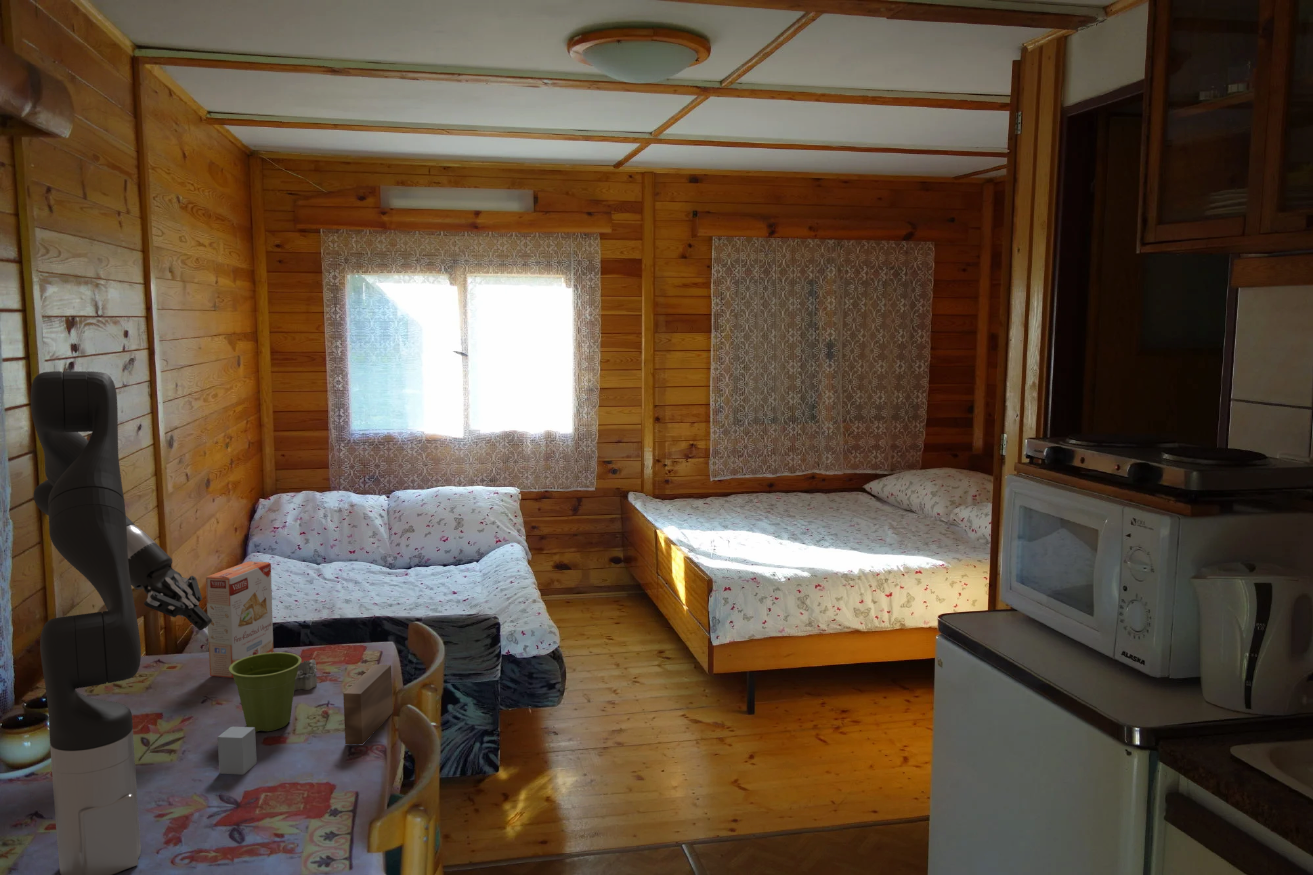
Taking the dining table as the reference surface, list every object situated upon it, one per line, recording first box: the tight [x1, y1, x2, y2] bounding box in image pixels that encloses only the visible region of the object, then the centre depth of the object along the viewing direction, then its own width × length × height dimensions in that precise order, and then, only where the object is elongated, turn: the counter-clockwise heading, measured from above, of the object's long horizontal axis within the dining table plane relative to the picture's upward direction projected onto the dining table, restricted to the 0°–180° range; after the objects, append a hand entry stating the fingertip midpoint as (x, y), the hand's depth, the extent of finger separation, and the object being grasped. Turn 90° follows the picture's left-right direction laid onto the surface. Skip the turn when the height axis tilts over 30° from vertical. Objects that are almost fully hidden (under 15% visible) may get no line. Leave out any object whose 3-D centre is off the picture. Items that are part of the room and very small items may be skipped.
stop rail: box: [342, 663, 394, 745], centre depth 166 cm, size 3×14×9 cm, turn 175°
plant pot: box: [229, 651, 302, 733], centre depth 167 cm, size 12×12×11 cm
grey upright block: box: [217, 726, 257, 775], centre depth 151 cm, size 4×4×6 cm
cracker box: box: [205, 560, 274, 679], centre depth 196 cm, size 14×6×21 cm, turn 168°
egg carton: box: [294, 659, 318, 691], centre depth 188 cm, size 11×8×4 cm
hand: (206, 625), depth 167 cm, fingers closed
